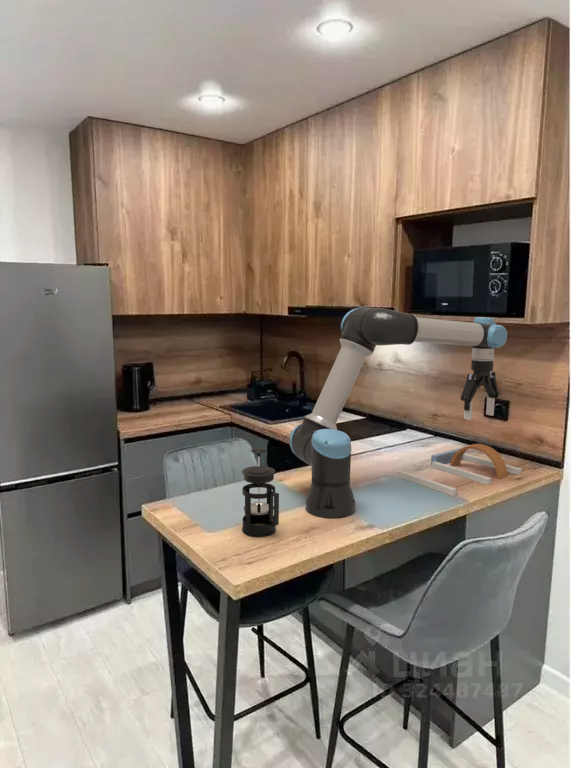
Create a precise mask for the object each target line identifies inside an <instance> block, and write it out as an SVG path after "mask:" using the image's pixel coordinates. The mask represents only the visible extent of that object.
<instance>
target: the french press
mask: <svg viewBox="0 0 571 768" xmlns="http://www.w3.org/2000/svg"><path fill="white" fill-rule="evenodd" d="M250 451H251V452H252V453H254V454H256V456H257V465H255V466H253V465H252V466H248V467H246V468H243V469H242V471H241V473H242V474H243V480H244V481H245V482H247V483H248V484H246V485H245V484H244V486H242V489H241V491H242V492H241V493H242V495H243V496H244V506H243V511H244V515H243V516H242V527H241V532H242V534H244V535H245V536H247V537H251V538H266V537H270V536H272V535H274V534H275V533H276V530H277V526H279V524H280V494H279V493H278V492H276V486H275V485H273V484H271V483H270V482H273V480H275V479H274V476H275V473H276V469H275V468H273V467H270V466H267V465H266V466H264V465H260V457H261V454H262V453H266V452H267V451H268V450H267V449H265V448H264V447H256V448H252V449H251V450H250ZM255 488H257V491H258V492H257V493H251V492H250V490H251V489H255ZM260 488H263V489H266V493H265V492H264V493H260V490H261V489H260ZM252 499H255V500H258V501H257V502H256V501H255V502H252ZM262 499H264V500H265V499H266V502H262V501H260V500H262Z"/></svg>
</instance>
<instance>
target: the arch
mask: <svg viewBox="0 0 571 768" xmlns="http://www.w3.org/2000/svg"><path fill="white" fill-rule="evenodd" d="M458 449H459V450H458V451H457V452H456V453H455V454H454V456H453V457H452V460H451V462H450V464H449V466H452V467H456V466H459V465H461V461H462V459H461V458H462V456H463V454H466V452H467V451H468V450H476V451H479V452H482V453H483V454H485V456H487V457H488V458H489V460H491V461H492V462H493V464H494V466H495V468H494V469H495V471H496V479H497V480H501V479H504V478H506V477H508V472H507V468H506V465H505V464H506V462H505V460H504V458H503V457H502V456H501V455H500V453H499V452H498V451H497V450H495V449H494V448H493V447H491V446H489V445H486V444H482V443H473V444H470V445H467V446H463V447H461V448H458Z"/></svg>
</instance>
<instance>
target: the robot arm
mask: <svg viewBox="0 0 571 768" xmlns="http://www.w3.org/2000/svg"><path fill="white" fill-rule="evenodd" d="M494 318H495V317H493V318H490V317H489V316H488V317H487V316H477V317H474V318H473V322H470V321H469V322H468V321H457V320H447V319H439V318H438V319H436V318H427V317H426V318H425V317H417V316H416V315H415V314H414V313H410V312H409V313H407V312H401V311H397V310H392V309H389V308H384V307H383V308H382V307H366V306H362V307H357V308H353V309H351V310H349V311H348V312H346V314H345V315H344V316H343V318H342V320H341V323H340V330H341V336H340V338H339V343H340V345H341V347H340V350H339V352H338V353H337V356H336V358H335V361H334V363H333V365H332V367H331V369H330V372H329V374H328V376H327V378H326V380H325V383H324V385H323V387H322V390H321V392H320V394H319V397H318V398H317V400H316V403H315V405H314V407H313V409H312V412H311V413H309V414H307V415H304V417H303V420H302V422H301V423H300V424H298V425H296V426H295V427H294V428H293V430H292V431H291V433H290V436H289V446H290V450H291V452H292V453H293V455H295V456H296V457H297V458H298V459H299V460H300V461H303V462H304V463H305V464H307V465H309V466H310V467H311V483H310V487H309V490H308V494H307V497H306V498H305V510H306V511H307V512H308V514H309V513H310V514H311V515H313V516H317V517H321V518H326V519H327V518H328V519H335V518H336V519H337V518H343V517H344V518H345V517H349V516H350V515H352V514H354V513H355V511H356V500H355V497H354V494H353V491H352V490H353V489H352V487H351V465H352V464H351V463H352V461H351V460H352V459H351V458H352V457H351V456H352V451H353V450H352V441H351V438H350V436H349V435H348V434H347V433H346V432H344V431H341V430H338V428H337V422H338V420H339V419H340V416H341V413H342V411H343V408H344V406H345V404H346V402H347V401H348V398H349V395H350V394H351V391H352V389H353V386H354V384H355V381H356V379H357V378H358V375H359V374H360V372H361V369H362V366H363V365H364V362H365V360H366V358H367V357H369V356H372V355H373V353H374V351H375V350H376V347H377V346H392V345H397V346H398V345H404V346H405V345H406V346H407V345H408V346H409V345H412V344H413V343H427V344H442V345H453V346H469V347H470V346H471V347H472V348H471V359H472V360H471V362H470V363H471V364H470V366H471V367H470V369H471V371H472V372H473V374H472V373H468V374H467V377H466V382H465V384H464V387H463V390H462V392H461V395H460V400H461V402H464V403H463V404H464V406H463V409H464V410H463V411H464V413H463V419H464V420H468V421H472V417H473V403H474V402H473V401H472V400H473V398H474V396H475V395H476V393H477V391H478V389H479V388H480V387H482V386H483V388H484V390H485V392H486V394H487V395H488V397H486V409H485V410H486V411H485V415H487V416H494V414H495V403H496V399H499V395H500V391H499V388H498V383H497V379H496V372H495V371H493V370H494V359H495V357H494V356H495V348H496V349H497V348H498V349H499V348H501V347H503V346H504V345H505V344H506V343H507V340H508V331H507V329H506V328H505V326H503V325H500V324H497V322H496V323H495V322H494V321H493V319H494Z"/></svg>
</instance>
